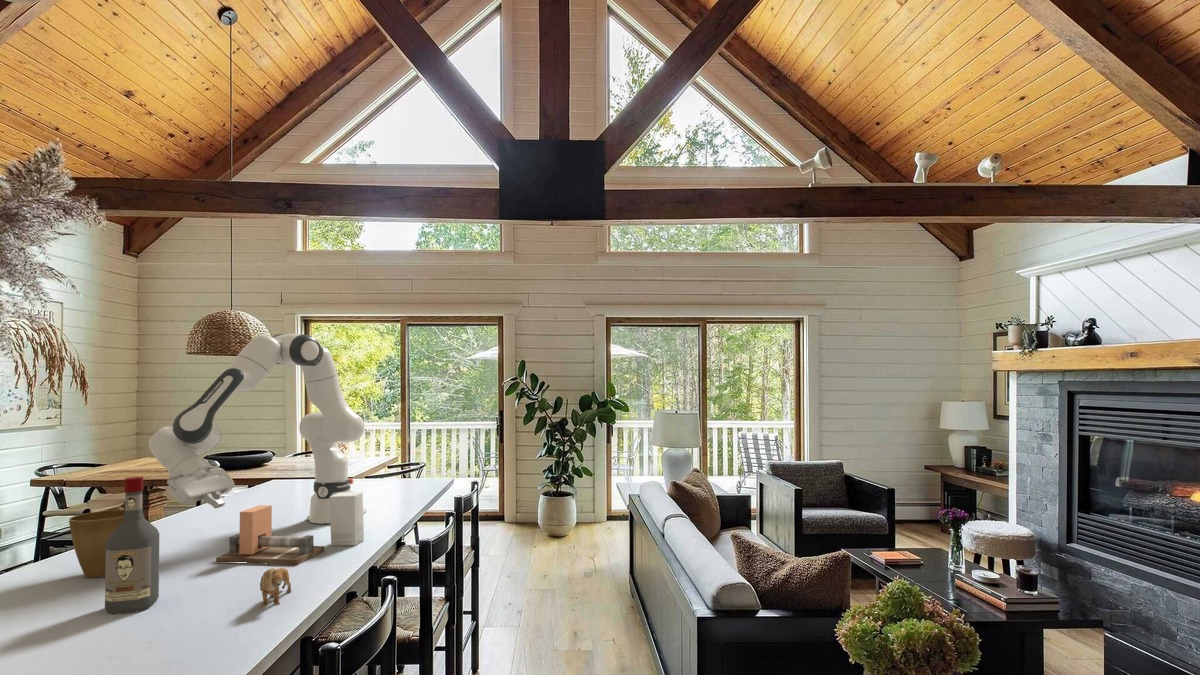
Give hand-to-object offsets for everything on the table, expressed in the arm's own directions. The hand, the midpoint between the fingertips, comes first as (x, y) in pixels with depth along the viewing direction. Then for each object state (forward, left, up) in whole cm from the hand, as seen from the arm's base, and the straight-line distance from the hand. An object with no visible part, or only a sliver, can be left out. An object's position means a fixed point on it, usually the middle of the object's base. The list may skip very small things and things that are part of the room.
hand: (220, 506), depth 199 cm
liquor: (+41, +8, -15) cm, 44 cm away
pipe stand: (0, +16, -15) cm, 22 cm away
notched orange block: (0, +11, -13) cm, 17 cm away
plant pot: (+19, -21, -15) cm, 32 cm away
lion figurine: (+34, +40, -15) cm, 55 cm away
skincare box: (-16, +31, -15) cm, 38 cm away
